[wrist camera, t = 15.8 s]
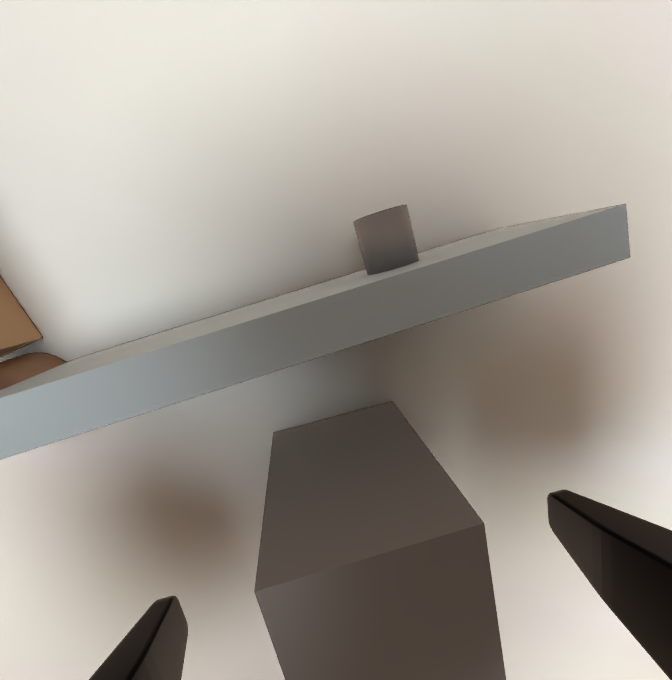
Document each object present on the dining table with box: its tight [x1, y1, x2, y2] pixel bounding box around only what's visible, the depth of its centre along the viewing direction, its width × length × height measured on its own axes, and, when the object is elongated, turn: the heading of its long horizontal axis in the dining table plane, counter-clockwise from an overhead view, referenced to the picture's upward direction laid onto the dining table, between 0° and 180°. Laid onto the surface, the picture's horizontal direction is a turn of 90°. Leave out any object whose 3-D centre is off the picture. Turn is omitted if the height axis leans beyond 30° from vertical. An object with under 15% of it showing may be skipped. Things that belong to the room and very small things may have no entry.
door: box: [0, 204, 630, 460], centre depth 8 cm, size 13×2×4 cm, turn 106°
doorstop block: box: [255, 401, 506, 680], centre depth 9 cm, size 4×4×6 cm
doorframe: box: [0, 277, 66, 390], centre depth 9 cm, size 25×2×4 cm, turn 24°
